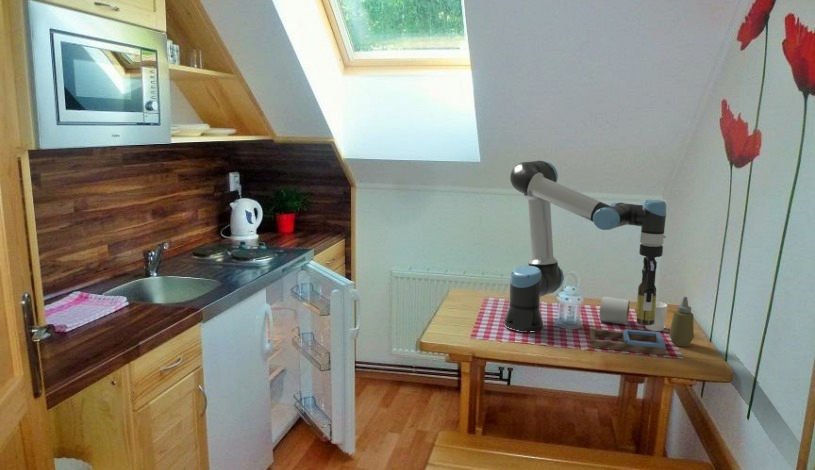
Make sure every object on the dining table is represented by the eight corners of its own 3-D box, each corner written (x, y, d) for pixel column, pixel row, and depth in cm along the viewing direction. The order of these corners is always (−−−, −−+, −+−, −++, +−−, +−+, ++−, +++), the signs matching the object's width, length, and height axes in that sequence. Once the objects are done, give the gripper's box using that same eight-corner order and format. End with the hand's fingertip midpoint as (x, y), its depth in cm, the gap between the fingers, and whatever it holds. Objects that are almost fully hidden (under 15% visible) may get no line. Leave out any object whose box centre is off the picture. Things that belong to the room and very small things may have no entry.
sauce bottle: (655, 322, 212) (660, 268, 208) (652, 327, 207) (657, 272, 203) (636, 319, 215) (641, 266, 212) (633, 323, 210) (638, 270, 206)
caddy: (590, 347, 211) (591, 337, 211) (589, 334, 224) (590, 325, 223) (664, 354, 205) (665, 345, 204) (659, 341, 217) (660, 332, 217)
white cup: (667, 332, 227) (669, 307, 225) (645, 331, 228) (647, 306, 227) (662, 325, 234) (665, 301, 233) (641, 324, 236) (644, 300, 234)
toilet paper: (628, 320, 240) (630, 297, 238) (625, 328, 232) (627, 303, 230) (603, 316, 245) (604, 293, 243) (598, 324, 236) (600, 300, 234)
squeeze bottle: (689, 341, 218) (694, 294, 215) (695, 349, 210) (700, 301, 207) (666, 339, 220) (671, 293, 216) (670, 347, 212) (675, 299, 209)
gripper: (667, 250, 196) (661, 316, 200) (659, 239, 214) (653, 300, 218) (643, 249, 198) (637, 314, 202) (637, 238, 216) (632, 298, 220)
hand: (646, 307), depth 210 cm, fingers closed on sauce bottle, 6 cm apart
